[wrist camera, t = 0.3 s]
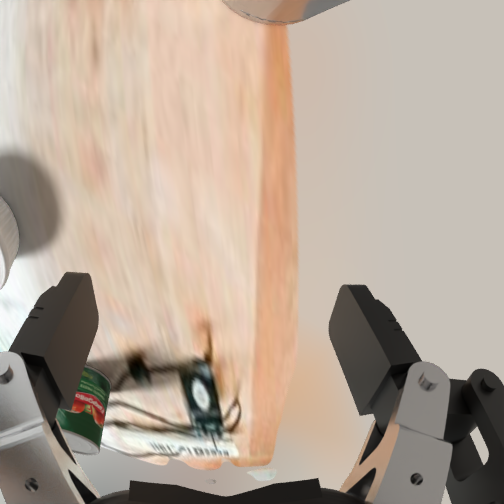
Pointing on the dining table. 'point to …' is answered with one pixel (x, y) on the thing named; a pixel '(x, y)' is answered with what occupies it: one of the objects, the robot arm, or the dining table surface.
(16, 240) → the ramekin
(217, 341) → the dining table surface
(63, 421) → the canned tomato
